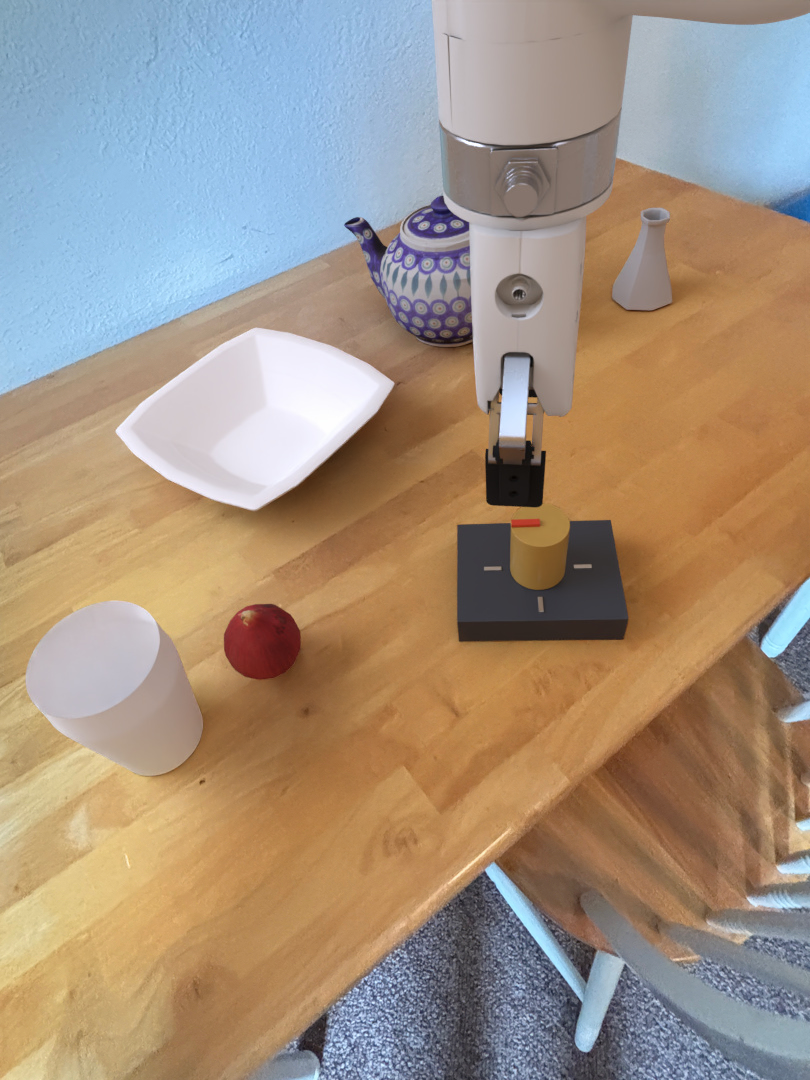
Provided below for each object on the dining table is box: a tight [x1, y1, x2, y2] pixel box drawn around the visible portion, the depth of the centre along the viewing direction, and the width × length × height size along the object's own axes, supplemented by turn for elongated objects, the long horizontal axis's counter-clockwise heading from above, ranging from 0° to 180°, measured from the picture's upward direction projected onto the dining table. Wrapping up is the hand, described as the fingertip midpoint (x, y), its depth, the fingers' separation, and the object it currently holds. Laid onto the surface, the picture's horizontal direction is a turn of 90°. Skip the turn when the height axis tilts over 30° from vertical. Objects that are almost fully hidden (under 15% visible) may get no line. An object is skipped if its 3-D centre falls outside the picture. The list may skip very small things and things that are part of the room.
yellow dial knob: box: [510, 502, 571, 590], centre depth 55 cm, size 4×4×6 cm
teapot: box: [343, 195, 473, 348], centre depth 80 cm, size 25×15×15 cm, turn 63°
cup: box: [24, 600, 204, 777], centre depth 50 cm, size 9×9×12 cm
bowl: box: [115, 327, 395, 512], centre depth 73 cm, size 22×23×6 cm
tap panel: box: [456, 519, 630, 643], centre depth 59 cm, size 13×10×3 cm
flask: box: [611, 207, 673, 311], centre depth 81 cm, size 7×7×10 cm
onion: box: [223, 603, 302, 681], centre depth 55 cm, size 6×6×8 cm
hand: (519, 444), depth 44 cm, fingers open, 9 cm apart
